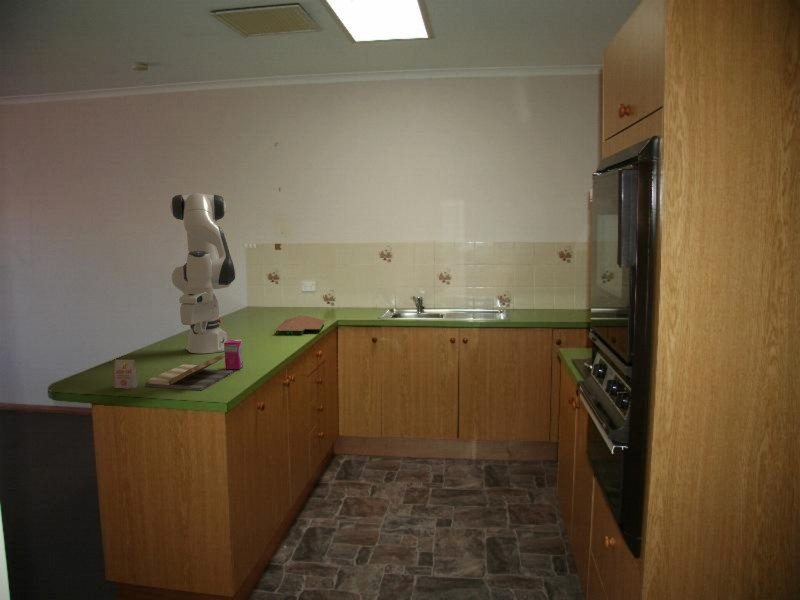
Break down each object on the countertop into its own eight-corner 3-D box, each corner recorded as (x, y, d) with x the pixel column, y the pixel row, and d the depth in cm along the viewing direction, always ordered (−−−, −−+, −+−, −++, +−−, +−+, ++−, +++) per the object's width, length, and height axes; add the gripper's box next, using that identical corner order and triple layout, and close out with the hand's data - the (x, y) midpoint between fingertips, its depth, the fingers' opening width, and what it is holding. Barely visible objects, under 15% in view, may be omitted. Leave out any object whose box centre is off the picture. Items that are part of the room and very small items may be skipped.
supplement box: (229, 366, 229) (228, 339, 227) (243, 367, 229) (243, 339, 227) (224, 370, 223) (223, 342, 222) (239, 370, 223) (238, 342, 222)
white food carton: (118, 385, 202) (117, 358, 200) (137, 385, 202) (136, 358, 200) (113, 388, 198) (112, 361, 197) (133, 388, 198) (131, 361, 197)
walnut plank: (204, 368, 221) (202, 365, 221) (224, 357, 218) (222, 354, 218) (171, 384, 199) (169, 380, 199) (193, 372, 197) (191, 368, 197)
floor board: (182, 369, 223) (182, 363, 223) (233, 373, 219) (233, 366, 219) (145, 386, 201) (145, 379, 201) (201, 390, 197) (201, 383, 196)
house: (325, 325, 324) (325, 311, 323) (318, 336, 292) (318, 321, 291) (286, 324, 324) (285, 310, 323) (274, 336, 291) (274, 321, 290)
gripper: (207, 292, 215) (208, 328, 217) (176, 299, 196) (178, 338, 197) (222, 293, 214) (223, 328, 216) (192, 299, 194) (194, 338, 196)
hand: (201, 333), depth 206 cm, fingers closed
